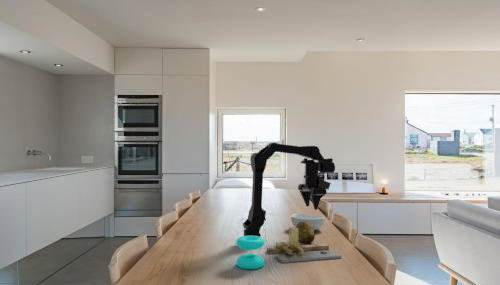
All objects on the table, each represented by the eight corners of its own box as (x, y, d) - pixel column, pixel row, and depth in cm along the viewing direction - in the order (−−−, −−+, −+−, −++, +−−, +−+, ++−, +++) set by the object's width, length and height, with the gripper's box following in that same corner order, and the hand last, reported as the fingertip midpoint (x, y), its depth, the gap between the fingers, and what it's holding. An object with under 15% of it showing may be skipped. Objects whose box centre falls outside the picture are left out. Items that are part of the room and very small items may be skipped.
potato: (295, 244, 165) (295, 225, 165) (295, 237, 178) (295, 219, 178) (314, 244, 164) (314, 226, 164) (313, 237, 177) (313, 220, 177)
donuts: (236, 241, 131) (236, 234, 141) (236, 270, 130) (236, 261, 140) (265, 241, 131) (263, 234, 141) (265, 270, 131) (263, 261, 141)
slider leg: (297, 254, 145) (297, 233, 145) (286, 246, 157) (286, 226, 157) (307, 253, 146) (307, 232, 146) (295, 245, 158) (295, 226, 158)
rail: (275, 259, 143) (275, 250, 143) (266, 251, 154) (266, 243, 154) (338, 254, 149) (338, 246, 150) (324, 246, 161) (324, 239, 161)
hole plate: (282, 263, 139) (282, 260, 139) (275, 256, 146) (275, 253, 146) (341, 258, 145) (341, 255, 145) (331, 252, 153) (331, 249, 153)
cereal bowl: (324, 234, 183) (324, 219, 183) (289, 233, 186) (289, 218, 186) (324, 227, 200) (324, 213, 200) (292, 225, 203) (292, 212, 203)
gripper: (337, 174, 165) (337, 210, 165) (319, 171, 183) (319, 204, 183) (313, 175, 162) (313, 211, 162) (297, 172, 180) (297, 205, 180)
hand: (311, 208), depth 172 cm, fingers open, 9 cm apart
